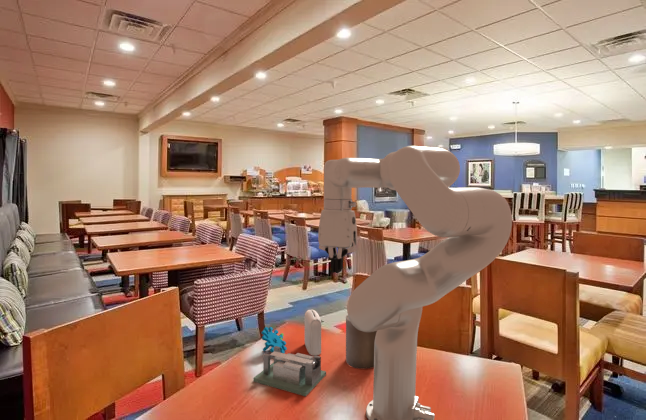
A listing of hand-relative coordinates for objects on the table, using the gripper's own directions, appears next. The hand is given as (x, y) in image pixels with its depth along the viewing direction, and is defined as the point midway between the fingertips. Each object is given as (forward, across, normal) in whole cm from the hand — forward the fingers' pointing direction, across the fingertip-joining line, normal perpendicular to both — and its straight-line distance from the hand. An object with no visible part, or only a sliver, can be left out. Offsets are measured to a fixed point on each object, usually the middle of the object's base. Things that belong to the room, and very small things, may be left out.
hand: (336, 271), depth 106 cm
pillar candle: (+29, -4, -10) cm, 31 cm away
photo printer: (+29, +13, -11) cm, 34 cm away
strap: (+24, +9, +8) cm, 27 cm away
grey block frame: (+28, +9, +8) cm, 31 cm away
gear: (+29, +23, -4) cm, 37 cm away
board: (+29, +10, +8) cm, 32 cm away
